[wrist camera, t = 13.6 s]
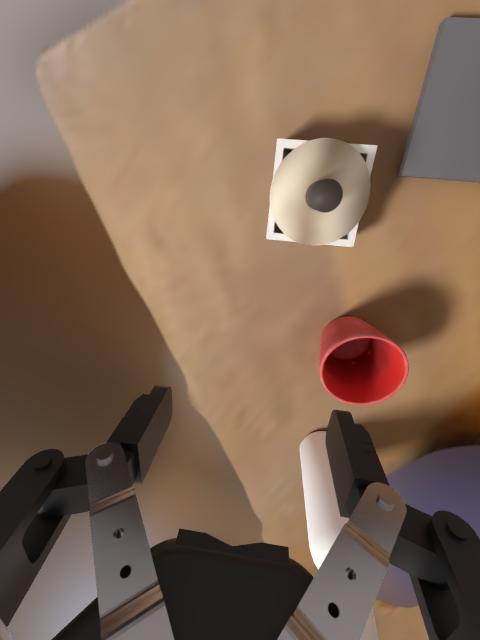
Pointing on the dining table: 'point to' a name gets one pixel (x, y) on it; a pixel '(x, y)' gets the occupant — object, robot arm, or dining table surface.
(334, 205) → the lid
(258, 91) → the dining table surface
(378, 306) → the dining table surface
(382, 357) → the flower pot
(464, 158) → the mat
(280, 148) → the dish
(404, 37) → the dining table surface
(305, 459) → the alcohol
